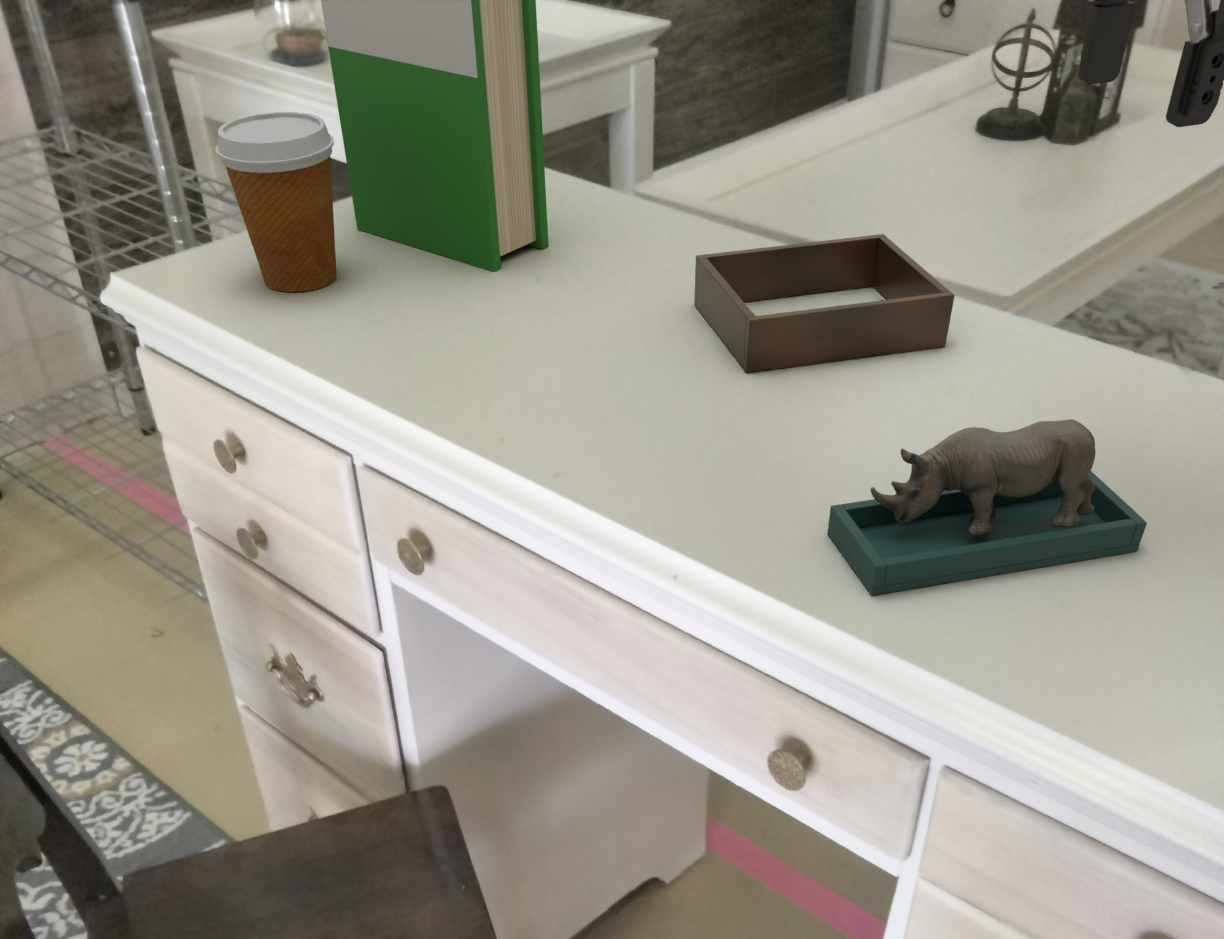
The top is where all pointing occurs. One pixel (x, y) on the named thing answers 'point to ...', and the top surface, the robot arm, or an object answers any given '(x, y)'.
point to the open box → (821, 333)
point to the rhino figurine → (1000, 471)
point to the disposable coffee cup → (284, 195)
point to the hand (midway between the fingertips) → (1139, 101)
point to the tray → (977, 537)
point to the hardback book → (442, 122)
